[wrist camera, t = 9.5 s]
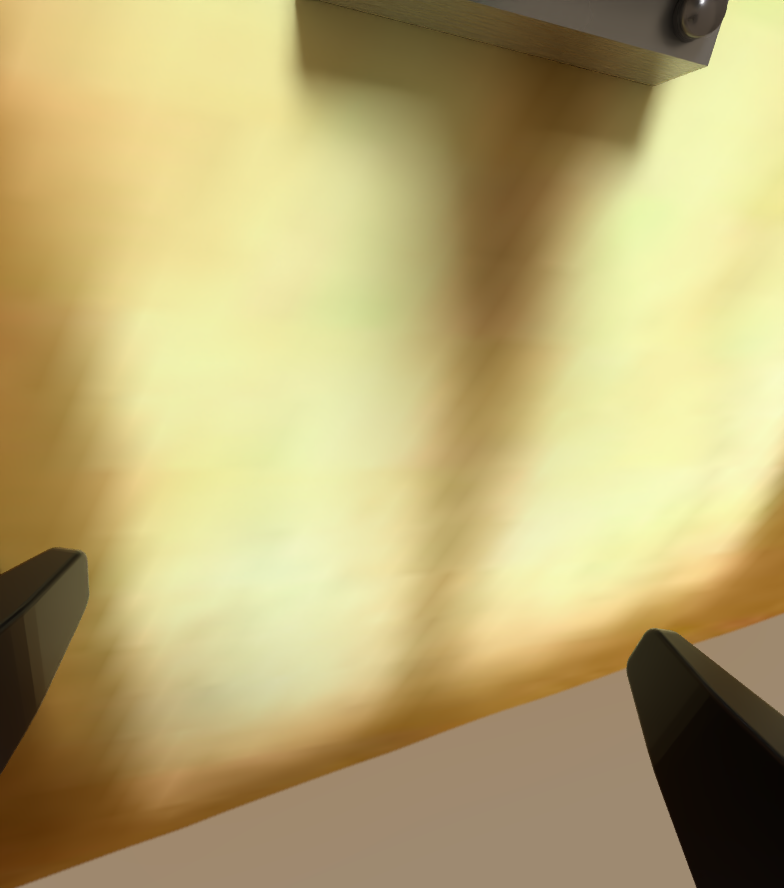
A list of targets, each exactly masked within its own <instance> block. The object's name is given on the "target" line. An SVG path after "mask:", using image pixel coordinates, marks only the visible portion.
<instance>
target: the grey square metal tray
mask: <svg viewBox="0 0 784 888" xmlns="http://www.w3.org/2000/svg"><path fill="white" fill-rule="evenodd" d="M319 1H323V2H327V3H331V4H335V5H339V6H343V7H347V8H350V9H354V10H358V11H362V12H366V13H370V14H374V15H378V16H382V17H386V18H390V19H393V20H397V21H401V22H405V23H409V24H413V25H417V26H421V27H425V28H429V29H432V30H436V31H440V32H444V33H448V34H452V35H456V36H460V37H464V38H468V39H471V40H475V41H479V42H483V43H487V44H491V45H495V46H499V47H503V48H507V49H511V50H514V51H518V52H522V53H526V54H530V55H534V56H538V57H542V58H546V59H550V60H553V61H557V62H561V63H565V64H569V65H573V66H577V67H581V68H585V69H589V70H593V71H596V72H600V73H604V74H608V75H612V76H616V77H620V78H624V79H628V80H632V81H635V82H639V83H643V84H647V85H651V86H655V85H658V84H660V83H663V82H666V81H669V80H671V79H674V78H677V77H679V76H682V75H685V74H688V73H690V72H693V71H696V70H698V69H701V68H704V67H707V66H708V63H709V60H710V57H711V54H712V51H713V48H714V45H715V42H716V38H717V35H718V32H719V29H720V26H721V23H722V20H723V18H724V16H725V13H726V9H727V4H728V1H729V0H319Z"/></svg>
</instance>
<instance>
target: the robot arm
mask: <svg viewBox="0 0 784 888" xmlns="http://www.w3.org/2000/svg"><path fill="white" fill-rule="evenodd" d="M88 599H89V579H88V563H87V556H86V554H85V553H84V552H83V551H81V550H75V549H68V548H61V547H54V548H51V549H48V550H46V551H44V552H42V553H41V554H39V555H37V556H35V557H33V558H31V559H29V560H27V561H25V562H23V563H21V564H20V565H18V566H16V567H14V568H12V569H10V570H8V571H6V572H4V573H2V574H1V575H0V775H1V773H2V771H3V769H4V768H5V766H6V764H7V763H8V761H9V759H10V758H11V756H12V754H13V753H14V751H15V749H16V748H17V746H18V744H19V743H20V741H21V739H22V738H23V736H24V734H25V733H26V731H27V729H28V727H29V726H30V724H31V722H32V720H33V719H34V717H35V715H36V713H37V711H38V709H39V707H40V705H41V703H42V701H43V699H44V697H45V695H46V693H47V691H48V689H49V686H50V684H51V682H52V680H53V678H54V676H55V674H56V671H57V669H58V667H59V665H60V663H61V661H62V658H63V656H64V654H65V652H66V650H67V648H68V646H69V643H70V641H71V639H72V637H73V635H74V633H75V630H76V628H77V626H78V624H79V622H80V620H81V617H82V615H83V613H84V611H85V609H86V606H87V603H88ZM627 676H628V680H629V684H630V687H631V691H632V694H633V698H634V702H635V705H636V709H637V713H638V716H639V720H640V724H641V727H642V731H643V735H644V739H645V742H646V746H647V749H648V753H649V757H650V760H651V763H652V767H653V770H654V773H655V776H656V779H657V781H658V784H659V787H660V790H661V792H662V795H663V798H664V800H665V803H666V806H667V809H668V811H669V814H670V817H671V820H672V822H673V825H674V828H675V830H676V833H677V836H678V838H679V842H680V844H681V846H682V850H683V852H684V855H685V858H686V861H687V863H688V866H689V869H690V871H691V874H692V877H693V880H694V882H695V885H696V888H784V716H783V715H782V714H780V713H779V712H778V711H776V710H775V709H774V708H773V707H771V706H770V705H769V704H767V703H766V702H765V701H764V700H762V699H761V698H760V697H759V696H757V695H756V694H754V693H753V692H752V691H751V690H750V689H748V688H747V687H746V686H744V685H743V684H742V683H741V682H739V681H738V680H737V679H736V678H734V677H733V676H732V675H730V674H729V673H728V672H727V671H725V670H724V669H723V668H721V667H720V666H719V665H717V664H716V663H715V662H714V661H713V660H711V659H710V658H709V657H707V656H706V655H705V654H704V653H702V652H701V651H700V650H698V649H697V648H696V647H695V646H693V645H692V644H691V643H690V642H688V641H687V640H686V639H684V638H683V637H682V636H681V635H679V634H678V633H676V632H674V631H671V630H664V629H657V628H652V629H649V630H647V631H646V632H645V633H644V635H643V637H642V638H641V640H640V641H639V643H638V644H637V646H636V648H635V649H634V651H633V652H632V654H631V655H630V657H629V659H628V662H627Z"/></svg>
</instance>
